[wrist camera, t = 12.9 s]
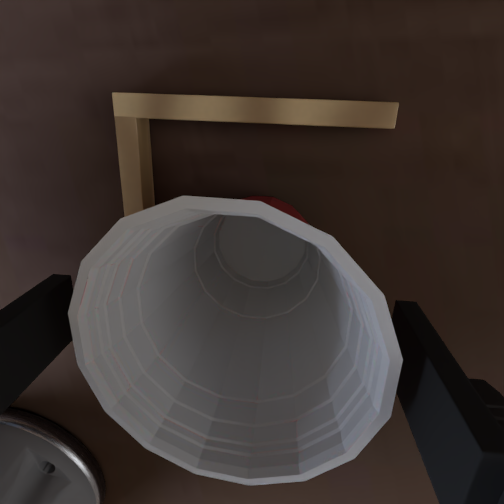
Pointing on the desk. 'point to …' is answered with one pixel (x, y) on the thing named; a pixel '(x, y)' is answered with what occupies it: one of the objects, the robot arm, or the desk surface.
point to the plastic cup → (235, 339)
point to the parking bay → (221, 110)
